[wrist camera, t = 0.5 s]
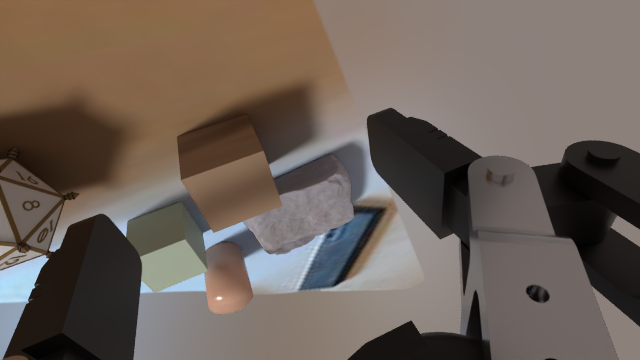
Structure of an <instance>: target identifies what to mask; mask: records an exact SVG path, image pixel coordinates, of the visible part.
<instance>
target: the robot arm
mask: <svg viewBox="0 0 640 360" xmlns="http://www.w3.org/2000/svg"><path fill="white" fill-rule="evenodd" d="M367 128H368V137H369V146H370V155H371V160H372V163H373V166H374V168H375V170H376V172H377V173H378V174H379V175H380V176H381V177H382V179H383V180H384V181H385V182H386V183H387V184H388V185H389V186H390V187H391V188H392V189H393V190H394V191H395V192H396V193H397V194H398V195H399V196H400V197H401V198H402V200H403V201H404V202H405V203H406V204H407V205H408V206H409V207H410V208H411V209H412V210H413V211H414V212H415V213H416V214H417V215H418V216H419V218H420V219H422V221H423V222H424V223H425V224H426V225H427V226H428V227H429V228H430V229H431V230H432V231H433V232H434V233H435V234H436V235H437V236H438V238H439V239H442V238H444V237H447V236H449V235H451V234H453V233H454V234H455V235H457V236H458V237H459V238H460V239H459V262H460V284H461V326H460V334H456V333H446V332H430V333H422V334H420V333H419V331H418V330H417V328H416V327H415V325H414V324H413V322H412V321H409V322H407V323H405V324H403V325H401V326H399V327H397V328H395V329H393V330H392V331H389V332H387V333H385V334H384V335H381V336H379V337H377V338H375V339H373V340H371V341H369V342H367V343H365V344H364V345H363V346H362V347H361V348H360V349H359V350H357V351H356V352H355V353H354V354H353V355H352V356H351V357H350V358H349V359H348V360H619V359H618V357H617V353H616V351H615V348H614V345H613V343H612V340H611V337H610V335H609V332H608V329H607V327H606V324H605V321H604V319H603V316H602V313H601V311H600V308H599V305H598V303H597V300H596V297H595V295H594V293H593V289H592V287H591V286H593V287H594V288H595V289H596V290H597V291H599V292H600V293H601V294H602V295H603V296H605V298H607V299H608V300H609V301H610V302H611V303H613V304H614V305H615V306H616V307H617V308H618V309H620V310H621V311H622V312H623V313H624V314H626V315H627V316H628V317H629V318H630V319H632V320H633V321H634V322H635V323H636V324H637V325H638V326H640V247H639V246H637V245H636V244H634V243H633V242H631V241H630V240H628V239H627V238H625V237H624V236H622V235H621V234H619V233H618V232H616V231H615V230H613V229H612V228H611V226H612V224H613V222H614V220H615V218H616V217H617V215H618V216H619V217H621V218H623V219H624V220H626V221H627V222H629V223H631V224H632V225H634V226H635V227H637V228H639V229H640V153H638V152H636V151H633V150H631V149H629V148H627V147H624V146H622V145H618V144H615V143H611V142H605V141H581V142H577V143H574V144H572V145H570V146H568V147H567V149H566V150H565V153H564V156H563V159H562V162H561V163H556V164H549V165H542V166H536V167H530V166H529V165H527V164H526V163H524V162H522V161H520V160H518V159H515V158H511V157H506V156H488V157H481V156H480V155H478V154H477V153H475V152H474V151H472V150H470V149H469V148H467V147H466V146H464V145H463V144H461V143H460V142H458V141H456V140H455V139H453V138H452V137H450V136H449V137H448V136H447V134H446V133H444V132H442V131H441V130H438V128H436V127H435V126H433V125H432V124H430V123H429V122H427V121H424V120H421V119H417V118H413V117H408V118H406V117H405V116H403V115H402V114H400V113H399V112H397V111H396V110H394V109H393V108H389V109H386V110H383V111H380V112H377V113H375V114H372V115H369V116H368V118H367ZM141 277H142V262H141V258H140V256H139V254H138V252H137V250H136V249H135V247H134V246H133V245H132V244H131V243H130V242H129V240H128V239H127V238H126V237H125V236H124V235H123V233H122V232H121V231H120V230H119V229H118V228H117V226H116V225H115V224H114V223H113V222H112V221H111V219H110V218H109V217H107V216H106V215H104V214H98V215H96V216H93V217H90V218H87V219H85V220H82V221H79V222H77V223H74V224H71V225H70V226H69V227H68V229H67V232H66V234H65V237H64V239H63V242H62V244H61V247H60V249H57V250H56V251H55V252H54V253H53V255H52V256H51V257H50V258H49V260H48V261H47V262H46V263H45V264H44V266H43V267H42V268H41V271H40V273H39V275H38V278H37V280H36V282H35V285H34V286H35V288H34V289H32V292H31V294H30V297H29V299H28V301H29V303H28V304H26V306H25V308H24V311H23V313H22V315H21V318H20V320H19V322H18V325H17V327H16V329H15V332H14V334H13V336H12V339H11V341H10V344H9V346H8V348H7V351H6V353H5V355H4V358H3V360H133V357H134V346H135V337H136V326H137V316H138V307H139V297H140V287H141Z"/></svg>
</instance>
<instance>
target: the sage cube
mask: <svg viewBox="0 0 640 360" xmlns="http://www.w3.org/2000/svg"><path fill="white" fill-rule="evenodd" d="M126 238H127V239H128V240H129V242H130V243H131V244H132V245H133V246H134V247H135V249H136V250H137V252H138V254H139V256H140V258H141V262H142V277H141V280H142V281H143V282H144V283H145V284H146V285H147V286H148V287H149V288H150V289H151V290H152V291H153V292H154V293H155V292H158V291H160V290H163V289H165V288H168V287H170V286H172V285H175V284H177V283H180V282H182V281H185V280H187V279H189V278H192V277H194V276H197V275H199V274H202V273H204V272H206V271H208V266H207V259H206V252H205V246H204V239H203V233H202V231H201V230H200V228H199V227H198V225H197V224H196V222H195V221H194V219H193V218H192V216H191V215H190V213H189V212H188V210H187V209H186V207H185V206H184V204H183V203H182V201H181V202H179V203H176V204H173V205H170V206H168V207H165V208H162V209H160V210H157V211H154V212H151V213H149V214H146V215H143V216H141V217H138V218H135V219H132V220H130V221H128V223H127V234H126Z"/></svg>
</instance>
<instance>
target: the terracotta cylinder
mask: <svg viewBox="0 0 640 360" xmlns="http://www.w3.org/2000/svg"><path fill="white" fill-rule="evenodd" d="M205 252H206V259H207V266H208V271H206V272H204V276H205V283H206V290H207V297H208V305H209V309H210V310H211V311H212V312H214V313H218V314H227V313H232V312H235V311H237V310H240V309H242V308H243V307H245V306H246V305H247V304H248V303H249V302H250V301H251V300H252V297H253V292H252V288H251V285H250V281H249V277H248V273H247V269H246V265H245V261H244V257H243V253H242V249H241V247H240V246H239V245H238V244H236V243H232V242H222V243H218V244H215V245H213V246H211V247H210V248H208V249H207V250H206V251H205Z"/></svg>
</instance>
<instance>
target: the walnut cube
mask: <svg viewBox="0 0 640 360" xmlns="http://www.w3.org/2000/svg"><path fill="white" fill-rule="evenodd" d="M177 142H178V153H179V163H180V174H181V181H182V182H183V184H184V186H185V187H186V189H187V190H188V192H189V194H190V195H191V197H192V199H193V200H194V202H195V203H196V205H197V207H198V208H199V210H200V212H201V213H202V215H203V216H204V218H205V220H206V221H207V223H208V225H209V226H210V228H211V229H212V231H213V233H214V232H217V231H219V230H222V229H224V228H227V227H230V226H232V225H235V224H237V223H240V222H242V221H245V220H247V219H250V218H253V217H255V216H258V215H260V214H263V213H265V212H268V211H270V210H273V209H276V208H278V207H281V206H282V203H281V200H280V197H279V194H278V191H277V188H276V185H275V182H274V179H273V177H272V174H271V171H270V168H269V165H268V162H267V159H266V156H265V153H264V150H263V148H262V146H261V144H260V141H259V139H258V137H257V135H256V133H255V130H254V128H253V126H252V124H251V121H250V119H249V117H248V115H247V114H244V115H241V116H238V117H235V118H232V119H229V120H226V121H223V122H220V123H217V124H214V125H211V126H208V127H205V128H202V129H199V130H196V131H193V132H190V133H187V134H184V135H181V136H178V137H177Z"/></svg>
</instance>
